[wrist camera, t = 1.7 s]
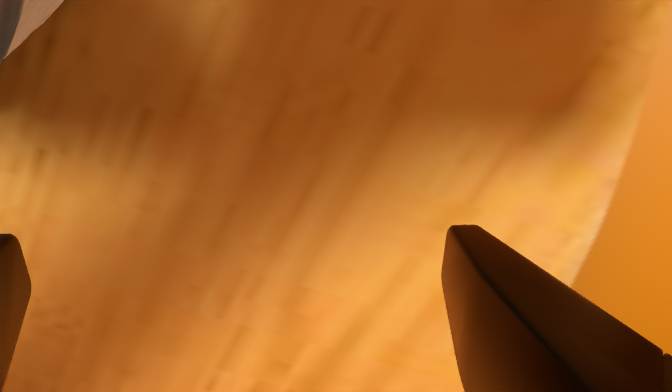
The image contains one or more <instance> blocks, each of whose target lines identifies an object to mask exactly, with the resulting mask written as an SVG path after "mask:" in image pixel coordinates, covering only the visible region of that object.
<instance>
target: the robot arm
mask: <svg viewBox="0 0 672 392" xmlns="http://www.w3.org/2000/svg"><path fill="white" fill-rule="evenodd" d="M441 277H442V287H443V293H444V298H445V303H446V308H447V313H448V319H449V324H450V329H451V334H452V339H453V345H454V350H455V355H456V360H457V365H458V369H459V374H460V377H461V381H462V384H463V388H464V391H465V392H672V356H671V355H670V354H667V353H666V354H664V355H663V351H662V350H661V349H660V348H659V347H657V346H656V345H654V344H653V343H651V342H650V341H648V340H647V339H645V338H644V337H642V336H641V335H640V334H638V333H637V332H635V331H634V330H632V329H631V328H629V327H628V326H626V325H625V324H623V323H622V322H620V321H619V320H617V319H616V318H614V317H613V316H611V315H610V314H608V313H607V312H605V311H604V310H602V309H601V308H600V307H598V306H597V305H595V304H594V303H592V302H591V301H589V300H588V299H586V298H585V297H583V296H582V295H580V294H579V293H577V292H576V291H574V290H573V289H571V288H570V287H568V286H567V285H565V284H564V283H562V282H561V281H559V280H558V279H557V278H555V277H554V276H552V275H551V274H549V273H548V272H546V271H545V270H543V269H542V268H540V267H539V266H537V265H536V264H534V263H533V262H531V261H530V260H528V259H527V258H525V257H524V256H522V255H521V254H519V253H518V252H516V251H515V250H514V249H512V248H511V247H509V246H508V245H506V244H505V243H503V242H502V241H500V240H499V239H497V238H496V237H494V236H493V235H491V234H490V233H488V232H487V231H485V230H484V229H482V228H481V227H479V226H477V225H452V226H451V227H450V228H449V229H448V231H447V235H446V242H445V249H444V257H443V264H442V274H441ZM30 295H31V280H30V276H29V273H28V270H27V266H26V263H25V259H24V256H23V253H22V249H21V246H20V243H19V241H18V239H17V238H16V237H15V236H14V235H12V234H0V392H2V389H3V386H4V383H5V380H6V377H7V374H8V370H9V367H10V363H11V360H12V357H13V353H14V350H15V346H16V343H17V340H18V336H19V333H20V330H21V326H22V323H23V319H24V316H25V313H26V309H27V306H28V302H29V299H30Z"/></svg>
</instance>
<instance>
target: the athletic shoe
mask: <svg viewBox="0 0 672 392" xmlns="http://www.w3.org/2000/svg"><path fill="white" fill-rule="evenodd" d="M63 1H64V0H0V63H1V62H2V61H3V60H4V59H5V58H6V57H7V56H8V55H9V54H11V53H12V52H13V51H14V50H15V49H16V48H17V47H18V46H19V45H20V44H21V43H22V42H23V41H24V40H25V39H27V38H28V36H29V35H30V34H31V33H32V32H33V31H34V30H36V29H37V28H38V27H39V26H41V25H42V24H43V23H44V22H45V21H46V20H47V19H48V18H49V17H50V16H51V15H52V13H53V12H54V11H55V10H56V9H57V8H58V7H59V6H60V5H61V3H62V2H63Z"/></svg>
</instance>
